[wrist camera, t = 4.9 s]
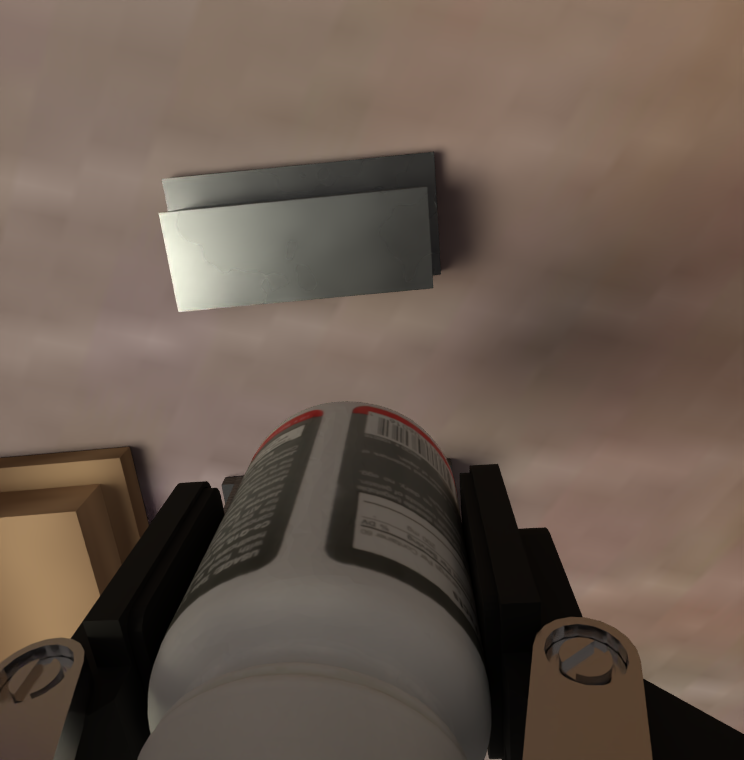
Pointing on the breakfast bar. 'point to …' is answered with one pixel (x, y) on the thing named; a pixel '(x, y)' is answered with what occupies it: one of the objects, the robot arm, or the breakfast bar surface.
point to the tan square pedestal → (62, 538)
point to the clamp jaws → (301, 235)
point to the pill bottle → (329, 607)
